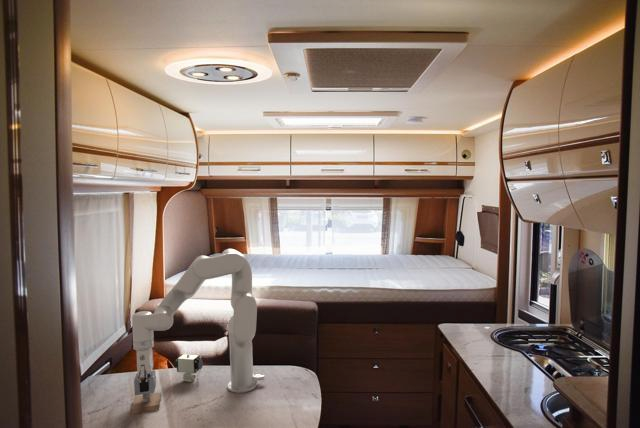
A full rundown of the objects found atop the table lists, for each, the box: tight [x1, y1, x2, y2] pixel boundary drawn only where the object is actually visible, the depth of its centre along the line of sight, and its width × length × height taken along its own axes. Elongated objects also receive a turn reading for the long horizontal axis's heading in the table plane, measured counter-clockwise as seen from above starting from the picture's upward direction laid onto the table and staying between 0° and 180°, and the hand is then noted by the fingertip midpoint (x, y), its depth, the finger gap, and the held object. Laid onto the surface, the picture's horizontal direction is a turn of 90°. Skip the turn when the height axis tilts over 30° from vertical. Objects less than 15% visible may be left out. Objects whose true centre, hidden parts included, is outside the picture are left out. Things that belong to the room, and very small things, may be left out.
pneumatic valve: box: [173, 353, 204, 383], centre depth 183 cm, size 6×12×12 cm, turn 78°
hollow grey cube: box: [133, 369, 157, 396], centre depth 162 cm, size 7×7×6 cm
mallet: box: [130, 392, 163, 415], centre depth 171 cm, size 10×27×6 cm, turn 17°
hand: (145, 386), depth 162 cm, fingers closed on hollow grey cube, 7 cm apart
